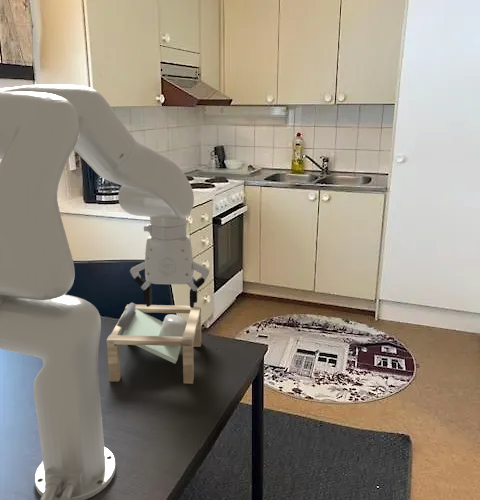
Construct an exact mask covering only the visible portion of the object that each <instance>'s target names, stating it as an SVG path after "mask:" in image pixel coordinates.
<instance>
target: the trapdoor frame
mask: <svg viewBox="0 0 480 500" xmlns="http://www.w3.org/2000/svg"><path fill="white" fill-rule="evenodd" d="M129 304H130V303H129ZM129 304H127V303H126V306H125V308H124V311H123V313H122V314H121V316H120V318H119V319H118V321H117V323H116V325H115V327H114V328H113V330H112V332H111V333H110V334H109V335H108V336H107V338H106V352H107V361H108V362H107V364H108V366H107V367H108V375H109V376H108V377H109V382H120V380H121V378H122V368H121V352H120V345H127V346H136V345H161V346H181V347H182V367H183V368H182V375H183V377H182V379H183V384H190V385H191V384H194V379H195V369H194V368H195V366H194V365H195V361H194V359H195V357H194V355H195V354H194V347H197V348H198V347H199V348H202V347H201V346H202V306H201V305H194V307H193V308H191V307H190V305H172V304H171V305H170V304H169V305H166V304H165V305H164V304H159V305H158V304H151V305H150V306H149V307H147V306H146V304H136V303H134V304H135V305H136V307H135V309H134V311H135V310H136V309H137V310H139V311H141V312H143V313H149V314H150V313H154V314H155V313H156V314H157V313H158V314H159V313H161V314H188V319H187V320H186V321H187V325H186V328H185V331H184V335H183V337H172V336H134V335H123V334H122V333H123V330H124V329H123V328H121V327H119V326H117V324H118V322H119V321H120V319H121V317H122V316H123V314H124V312H125V310H126V309H127V307H128V306H129Z"/></svg>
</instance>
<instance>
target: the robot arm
mask: <svg viewBox="0 0 480 500" xmlns="http://www.w3.org/2000/svg"><path fill="white" fill-rule="evenodd" d="M74 151H75V152H76V153H77V155H79V157H80V158H81V159H82V160H84V161H85V163H86V164H87V165H88V166H89V167H90V168H91V169H92V170H93V171H94V173H96V175H98V176H99V177H100V178H102V179H103V180H107V181H109V182H111V183H113V184H117V185H120V188H119V191H118V195H117V196H118V203H119V205H120V208H121V209H122V210H123V211H124V212H126V213H127V214H129V215H132V216H138V217H146V218H149V221H150V222H149V224H147V225H145V224H144V225H143V232H147V233H148V234H149V235H148V237H147V238H146V243H145V252H144V253H145V254H144V255H145V256H144V257H145V258H144V261H143V262H141V263H139V264H136V265H135V266H132V267H131V268H130V270H129V273H130V274H131V276H132V278H133V279H134V282H135V283H137V285H138V286H139V287H140V288H141V289H142V290H143V301H144V302H146V303H145V305H146V306H147V307H149V306H150V305H152V303H153V285H151V284H154V285H181V286H182V285H187V286H188V287H189V288H190V289H189V306H190V307H191V308H193V307H194V306H195V303H197V304H198V289H200V288H201V286H202V285H204V283H205V282H206V280H207V278H208V276H209V275H210V269H209V268H208V267H206V266H205V267H204V266H203V265H202V264H199V263H197V262H195V261H194V258H193V248H192V247H193V246H192V243H191V242H192V241H191V238H190V235H188V234H187V217H188V216H189V215H190V214H191V212H192V210H193V208H194V204H195V202H194V201H195V196H194V195H195V194H194V192H193V191H194V190H193V187H192V185H191V183H190V181H189V179H188V178H187V176H186V174H185V173H184V172H183V170H182V169H181V168H180V167H179V166H178V164H177V163H175V162H174V161H172V160H171V159H169V158H168V157H166V156H164V155H163V154H160V153H159V152H157V151H156V150H154V149H152V148H150V147H148V146H147V145H144V144H143V143H140V142H138V141H137V140H136V139H135V138H134V136H133V134H131V132H130V131H129V129H128V128H127V127H126V126H125V125H124V122H122V120H121V119H120V117H119V116H118V115H117V113H116V112H115V111H114V109H113V108H112V107H111V105H110V104H109V102H108V101H107V100H106V98H105V97H104V96H103V94H101V93H100V92H99V91H98V90H96V89H94V88H92V87H89V86H85V85H79V84H78V85H77V84H76V85H75V84H31V85H21V86H13V87H12V86H11V87H3V88H2V87H1V88H0V160H1V161H0V349H1V350H3V351H7V352H11V353H12V352H13V353H18V354H22V355H23V354H24V355H26V356H27V355H28V356H31V357H36V358H39V359H40V360H42V365H43V366H42V367H41V369H40V370H39V371H38V372H37V375H36V376H35V378H34V380H33V387H32V388H33V398H34V403H35V404H34V405H35V412H36V419H37V421H36V422H37V428H38V434H39V442H40V443H39V444H40V449H41V457H42V459H41V460H42V461H41V463H40V464H39V465H38V467H37V469H36V471H35V474H34V487H35V489H36V491H37V494H39V496H40V499H39V500H88V499H90V498H92V497H94V496H96V495H98V494H99V493H100V492H102V491H103V490H105V489H106V487H107V486H108V485H109V484H110V483H111V481H112V479H113V478H114V476H115V475H116V467H117V463H116V458H115V455H114V453H112V451H111V450H110V449H109V448H107V447H105V439H104V438H105V437H104V429H103V428H104V427H103V416H102V415H103V414H102V405H101V404H102V403H101V392H100V381H99V366H98V365H99V360H98V359H99V348H100V347H99V346H100V340H101V339H100V338H101V331H102V330H101V329H102V320H101V314H100V313H99V310H98V309H97V307H96V306H95V305H94V304H92V302H89V301H87V300H86V299H84V298H81V297H78V296H74V295H69V294H67V293H68V292H69V291H70V290H71V289H72V287H73V285H74V280H75V277H76V276H75V275H76V274H75V273H76V272H75V265H74V259H73V256H72V252H71V249H70V244H69V242H68V241H69V240H68V237H67V235H66V230H65V226H64V223H63V220H62V216H61V212H60V207H59V201H58V190H59V184H60V180H61V178H62V174H63V173H64V170H65V167H66V165H67V163H68V161H69V159H70V157H71V155H72V153H73V152H74ZM143 270H144V277H145V278H144V277H143V276H142V275H141V274H140V271H143ZM194 271H196V272H197V273H199V274H201V275H200V277H199V278H198V279H195V277H194V276H193V275H194Z"/></svg>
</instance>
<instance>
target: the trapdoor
mask: <svg viewBox="0 0 480 500" xmlns="http://www.w3.org/2000/svg"><path fill="white" fill-rule="evenodd" d="M135 304H136V303H134V302H130V303H129V306H128V307H127V309H126V310H125V309H124V311H125V312H124V311H123V313H124V314H123V313H122V314H123V316H122V315H121V316H122V317H121V316H120V318H121V319H120V318H119V319H120V321H119V320H118V321H119V322H118V321H117V323H118V324H117V323H116V325H117V326H119V327H121V328H123V330H124V331H123V332H122V335H134V336H159V333H160V330H161V327H162V324H163V321H161V320H160V319H157V318H156V317H154V316H151V315H150V314H148V313H146V312H141V311H139V310H137V309H136V310H135V311H134V309H135V307H136V305H137V304H136V305H135ZM183 335H184V334H183ZM135 346H136V347H139V348H141V349H142V350H144V351H147V352H149V353H151V354H153V355H155V356H158V357H160V358H162V359H164V360H165V361H168V362H171V363H173V364H176V363H177V361H178V359H179V355H180V351H181V348H182V346H161V345H135Z"/></svg>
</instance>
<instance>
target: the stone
mask: <svg viewBox="0 0 480 500" xmlns="http://www.w3.org/2000/svg"><path fill="white" fill-rule="evenodd" d="M187 321H188V320H186V319H185V318H184V317H182V316H180V315H178V314H175V313H168V314H167V315H165V317H164V318H163V321H162V322H163V324H162V327H161V330H160V333H159V336H172V337H183V334H184V332H185V328H186V325H187Z"/></svg>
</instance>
